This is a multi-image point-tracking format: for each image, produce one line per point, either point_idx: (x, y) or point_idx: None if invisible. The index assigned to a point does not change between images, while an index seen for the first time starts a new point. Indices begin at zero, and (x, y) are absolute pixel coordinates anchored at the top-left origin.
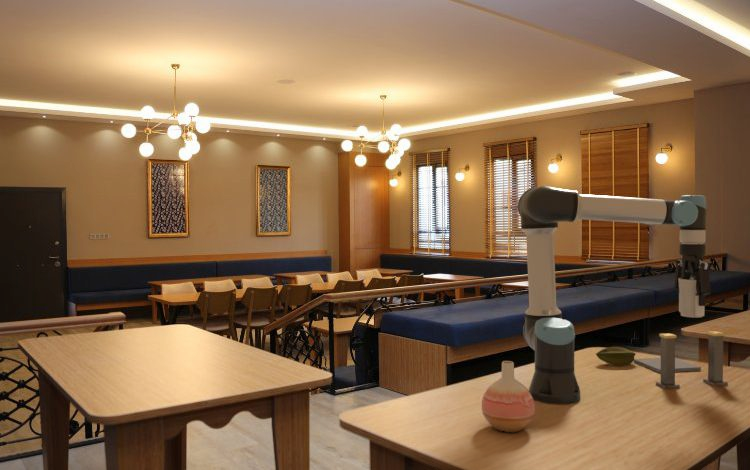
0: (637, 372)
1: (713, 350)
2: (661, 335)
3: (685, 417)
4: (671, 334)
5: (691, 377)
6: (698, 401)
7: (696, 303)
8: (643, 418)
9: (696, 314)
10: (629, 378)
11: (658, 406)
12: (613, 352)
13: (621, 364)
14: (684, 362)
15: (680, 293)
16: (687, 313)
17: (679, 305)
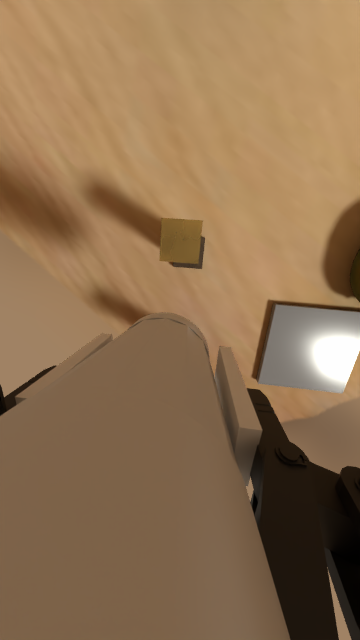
0: (294, 264)
1: None
2: (189, 220)
3: (23, 151)
4: (179, 256)
5: (225, 335)
6: (99, 241)
7: (63, 362)
8: (19, 54)
9: (99, 336)
10: (262, 215)
11: (82, 143)
12: None
13: (356, 264)
14: (298, 383)
15: (162, 368)
16: (138, 322)
17: (232, 363)
